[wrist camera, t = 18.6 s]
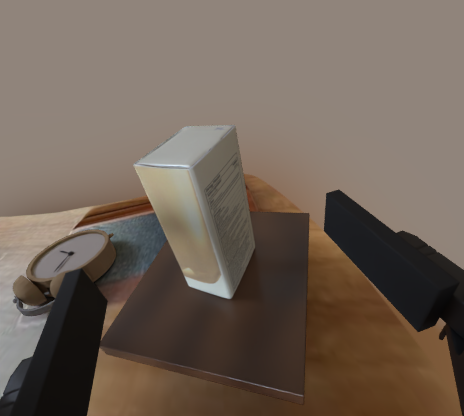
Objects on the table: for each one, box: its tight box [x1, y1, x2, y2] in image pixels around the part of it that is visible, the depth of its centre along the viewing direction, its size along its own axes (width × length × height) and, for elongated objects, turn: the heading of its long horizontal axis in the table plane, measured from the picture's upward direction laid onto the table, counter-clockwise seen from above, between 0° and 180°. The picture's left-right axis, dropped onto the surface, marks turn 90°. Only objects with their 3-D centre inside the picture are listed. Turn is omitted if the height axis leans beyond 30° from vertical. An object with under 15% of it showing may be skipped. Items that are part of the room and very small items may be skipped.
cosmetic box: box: [134, 125, 255, 299], centre depth 19 cm, size 6×4×12 cm
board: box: [99, 212, 309, 405], centre depth 23 cm, size 15×17×2 cm
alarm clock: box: [13, 230, 116, 316], centre depth 36 cm, size 11×5×15 cm
